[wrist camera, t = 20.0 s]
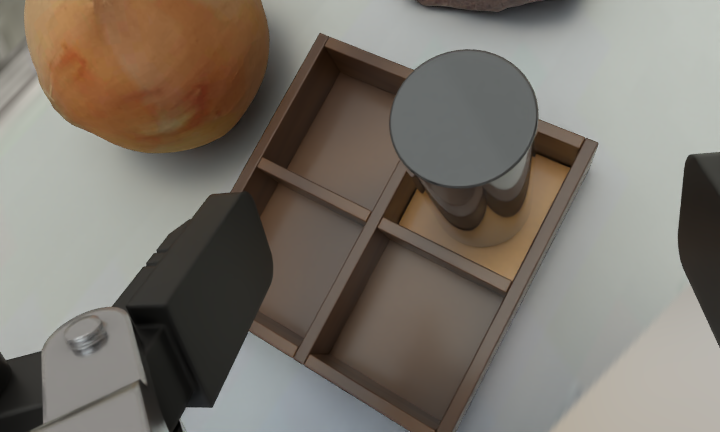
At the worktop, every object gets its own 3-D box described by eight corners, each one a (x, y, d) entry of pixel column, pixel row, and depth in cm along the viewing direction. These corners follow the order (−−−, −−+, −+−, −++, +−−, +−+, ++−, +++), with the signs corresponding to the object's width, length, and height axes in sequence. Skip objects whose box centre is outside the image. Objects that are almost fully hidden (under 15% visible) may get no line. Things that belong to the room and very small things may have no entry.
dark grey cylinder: (549, 177, 24) (565, 78, 16) (504, 264, 24) (495, 213, 15) (460, 138, 25) (429, 29, 17) (416, 221, 25) (362, 152, 17)
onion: (89, 113, 32) (-94, 10, 22) (207, -32, 32) (75, -196, 22) (209, 220, 28) (54, 152, 19) (339, 57, 28) (250, -91, 19)
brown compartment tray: (590, 167, 24) (599, 142, 22) (451, 440, 23) (442, 451, 21) (339, 64, 28) (319, 32, 26) (212, 293, 27) (176, 286, 25)
